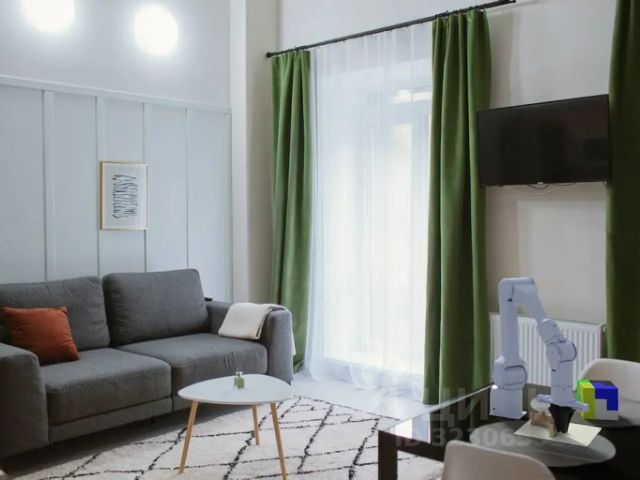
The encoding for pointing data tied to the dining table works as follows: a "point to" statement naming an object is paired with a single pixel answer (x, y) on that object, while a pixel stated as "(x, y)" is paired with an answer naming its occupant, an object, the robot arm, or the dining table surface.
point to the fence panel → (552, 428)
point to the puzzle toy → (598, 399)
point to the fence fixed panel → (540, 418)
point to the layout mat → (573, 436)
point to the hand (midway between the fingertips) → (562, 431)
